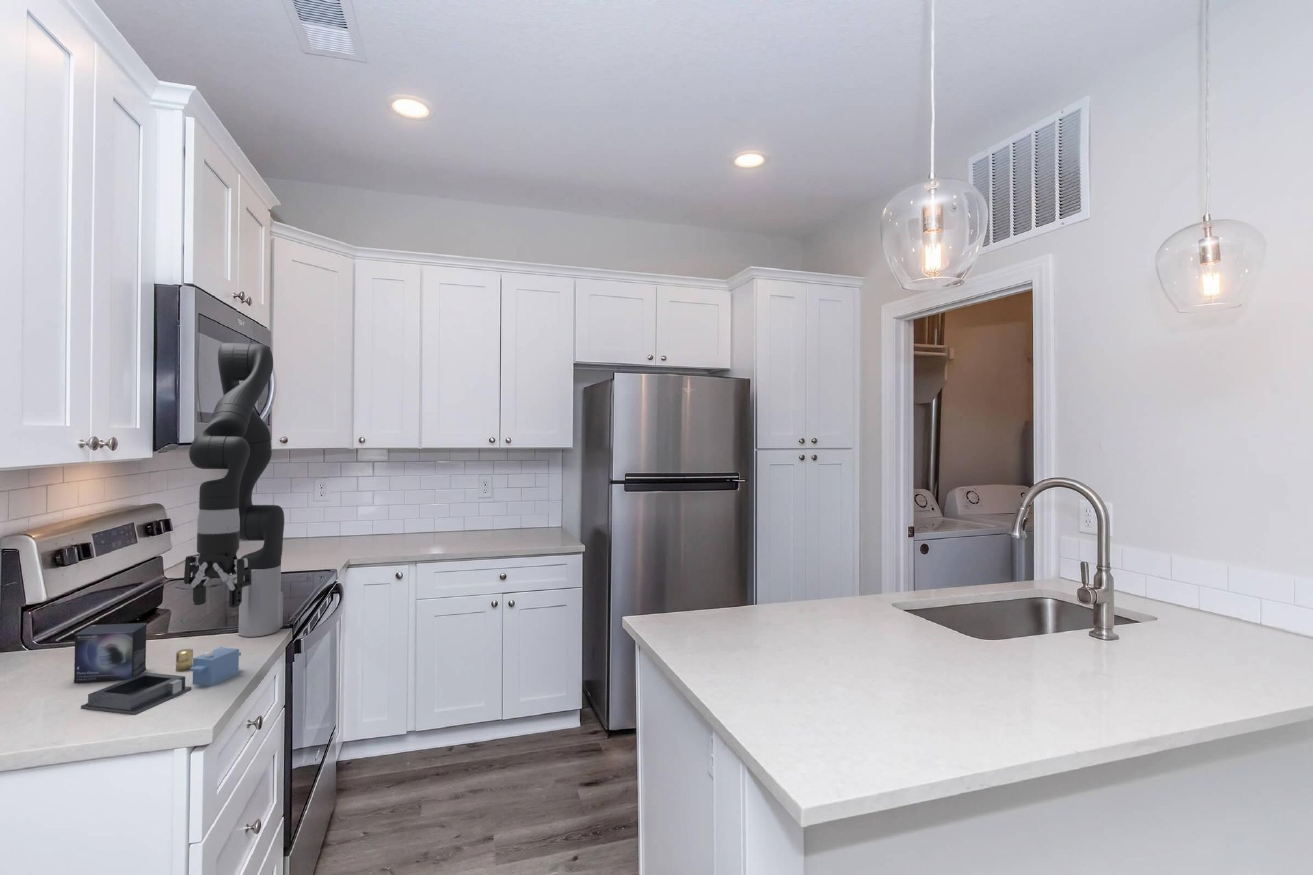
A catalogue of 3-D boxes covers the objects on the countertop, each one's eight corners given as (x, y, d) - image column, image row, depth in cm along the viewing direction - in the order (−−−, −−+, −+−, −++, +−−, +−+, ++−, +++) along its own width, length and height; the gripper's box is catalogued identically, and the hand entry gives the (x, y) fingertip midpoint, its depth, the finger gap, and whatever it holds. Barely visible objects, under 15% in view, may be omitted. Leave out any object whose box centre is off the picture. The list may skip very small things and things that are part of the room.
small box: (71, 684, 133) (72, 633, 133) (89, 672, 139) (90, 624, 139) (131, 680, 136) (132, 630, 136) (147, 669, 142) (148, 621, 142)
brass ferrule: (184, 666, 144) (184, 648, 144) (196, 667, 144) (196, 649, 144) (172, 670, 141) (172, 652, 141) (184, 672, 141) (184, 653, 141)
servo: (226, 669, 143) (227, 640, 143) (244, 671, 143) (245, 641, 142) (185, 687, 133) (185, 656, 133) (204, 689, 132) (204, 657, 132)
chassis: (141, 684, 134) (141, 671, 134) (191, 689, 132) (191, 676, 132) (80, 708, 122) (81, 694, 122) (134, 714, 120) (135, 700, 120)
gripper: (261, 528, 140) (260, 603, 140) (204, 525, 142) (203, 599, 142) (233, 533, 133) (231, 612, 133) (174, 530, 135) (172, 607, 135)
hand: (217, 605), depth 138 cm, fingers open, 8 cm apart
